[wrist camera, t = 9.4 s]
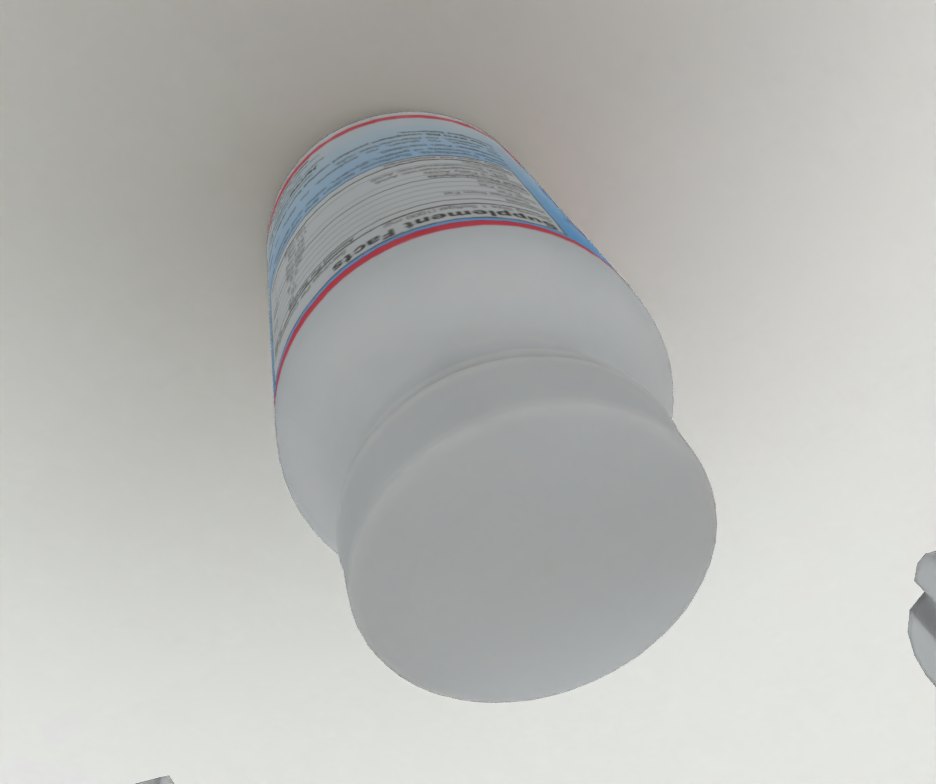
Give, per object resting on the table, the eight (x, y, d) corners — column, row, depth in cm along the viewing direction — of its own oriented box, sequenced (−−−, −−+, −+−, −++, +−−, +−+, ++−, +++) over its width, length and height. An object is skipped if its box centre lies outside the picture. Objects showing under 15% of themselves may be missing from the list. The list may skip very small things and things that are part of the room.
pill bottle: (527, 344, 22) (735, 705, 13) (279, 367, 21) (305, 781, 12) (540, 95, 19) (830, 326, 10) (249, 106, 18) (251, 380, 8)
